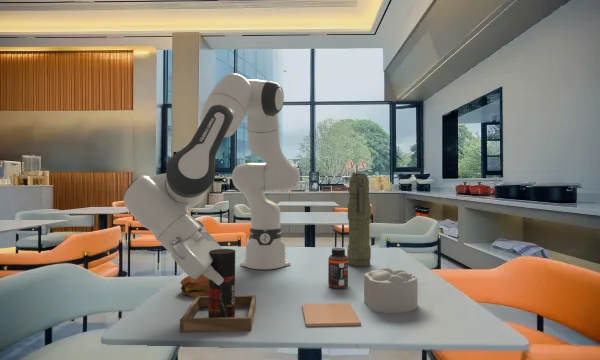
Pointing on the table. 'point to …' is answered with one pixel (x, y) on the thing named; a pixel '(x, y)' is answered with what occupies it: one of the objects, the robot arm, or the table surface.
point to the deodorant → (222, 284)
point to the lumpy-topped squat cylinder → (390, 291)
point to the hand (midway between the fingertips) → (224, 277)
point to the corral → (218, 323)
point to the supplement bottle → (338, 269)
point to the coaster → (330, 314)
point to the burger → (195, 286)
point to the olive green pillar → (359, 221)
